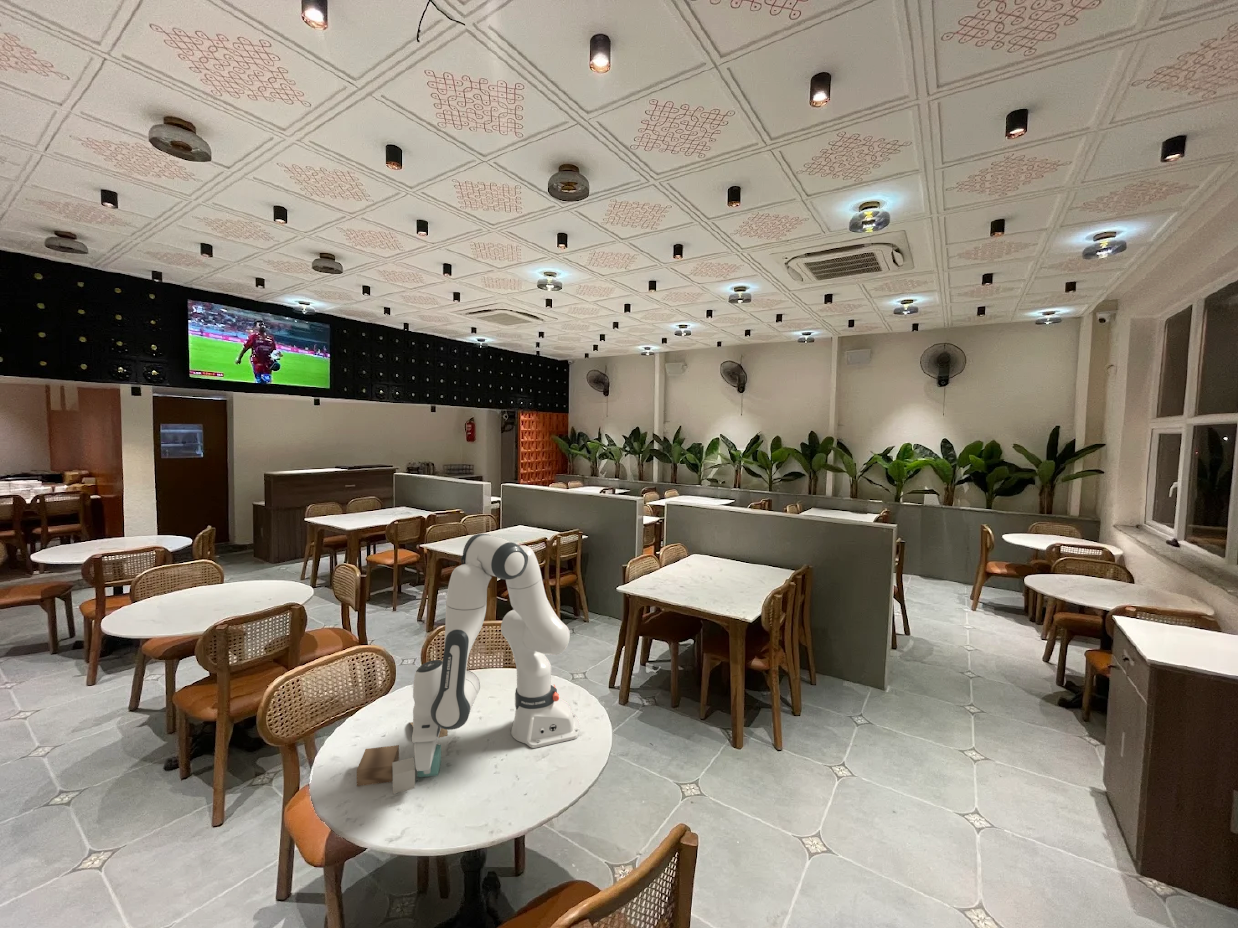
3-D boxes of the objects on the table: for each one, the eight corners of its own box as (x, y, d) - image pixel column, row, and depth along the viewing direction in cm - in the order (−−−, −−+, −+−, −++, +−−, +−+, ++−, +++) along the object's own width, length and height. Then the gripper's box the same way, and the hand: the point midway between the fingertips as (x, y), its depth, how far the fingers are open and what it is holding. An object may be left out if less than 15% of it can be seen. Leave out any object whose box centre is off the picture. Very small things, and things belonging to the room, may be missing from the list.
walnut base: (398, 761, 144) (398, 744, 144) (392, 782, 136) (391, 765, 135) (365, 765, 142) (365, 748, 142) (356, 787, 134) (356, 769, 133)
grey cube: (413, 775, 138) (413, 757, 138) (414, 788, 134) (414, 769, 133) (392, 781, 136) (392, 762, 136) (392, 794, 131) (392, 775, 131)
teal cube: (440, 762, 144) (441, 744, 144) (437, 774, 139) (438, 756, 138) (421, 764, 143) (421, 746, 143) (417, 777, 138) (417, 758, 137)
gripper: (425, 699, 149) (425, 742, 150) (410, 740, 129) (410, 790, 130) (446, 697, 151) (446, 740, 152) (435, 738, 131) (435, 787, 132)
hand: (429, 763), depth 141 cm, fingers closed on teal cube, 5 cm apart
